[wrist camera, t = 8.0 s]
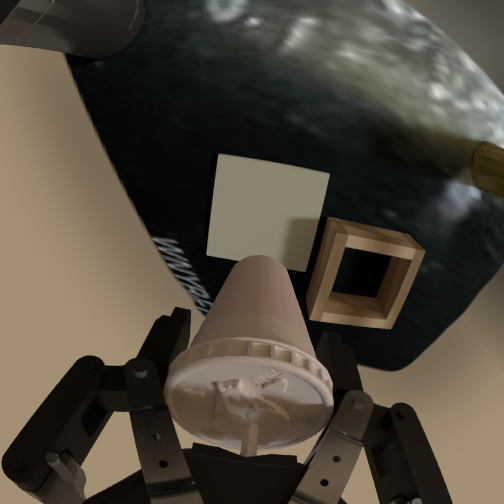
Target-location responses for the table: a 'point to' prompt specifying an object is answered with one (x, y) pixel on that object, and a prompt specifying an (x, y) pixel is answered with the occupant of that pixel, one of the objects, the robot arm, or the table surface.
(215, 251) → the mat
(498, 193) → the vase
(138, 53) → the table surface
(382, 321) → the sleeve
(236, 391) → the smoothie
